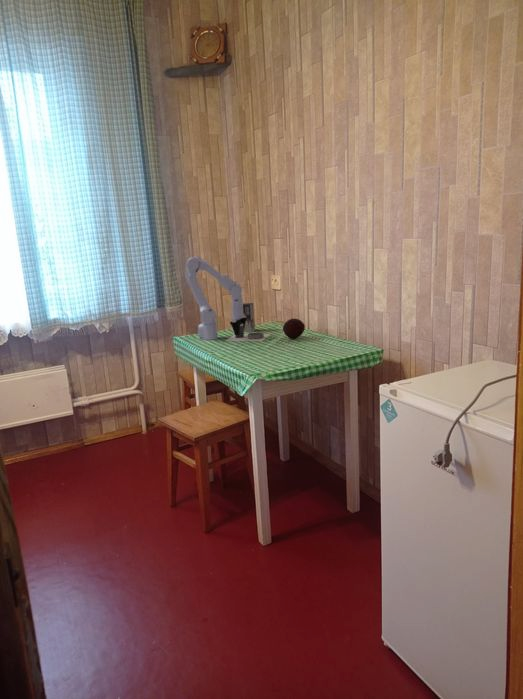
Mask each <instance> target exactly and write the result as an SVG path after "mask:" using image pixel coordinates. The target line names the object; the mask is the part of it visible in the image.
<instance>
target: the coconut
mask: <svg viewBox="0 0 523 699" xmlns="http://www.w3.org/2000/svg"><path fill="white" fill-rule="evenodd" d="M305 328H306V326H305V324H304V322H303V321H302V320H300V319H298V318H290V319H288V320H286V322H285V323H284V324H283V326H282V331H283V333H284V334H285V336H286V337H287V338H289V339H290V340H296V339H298V338H299V337H301V336H302V335H303V333H304V331H305Z"/></svg>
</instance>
